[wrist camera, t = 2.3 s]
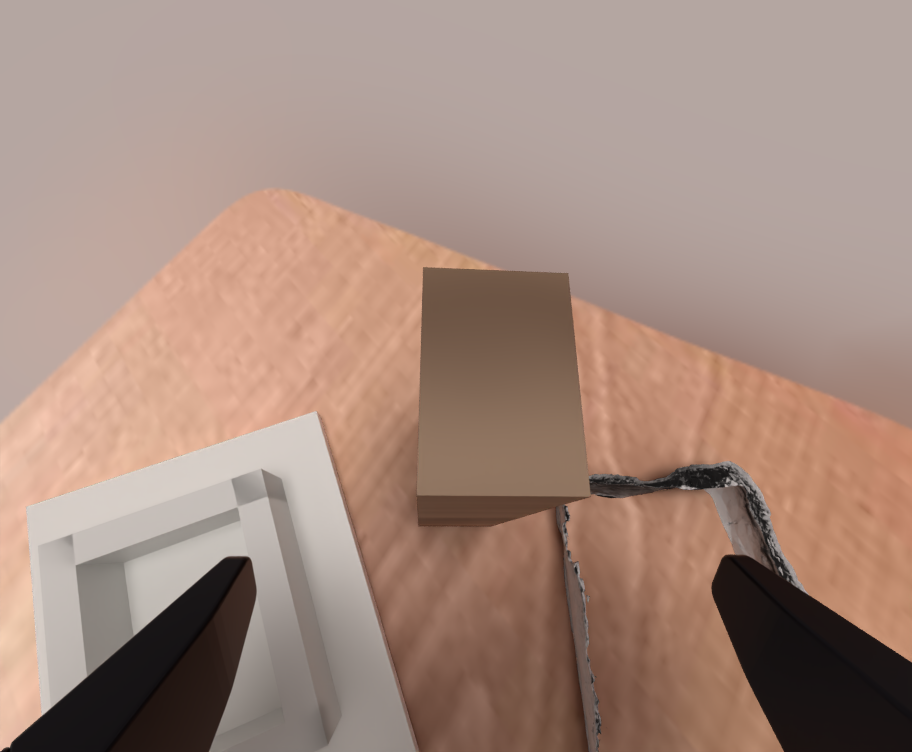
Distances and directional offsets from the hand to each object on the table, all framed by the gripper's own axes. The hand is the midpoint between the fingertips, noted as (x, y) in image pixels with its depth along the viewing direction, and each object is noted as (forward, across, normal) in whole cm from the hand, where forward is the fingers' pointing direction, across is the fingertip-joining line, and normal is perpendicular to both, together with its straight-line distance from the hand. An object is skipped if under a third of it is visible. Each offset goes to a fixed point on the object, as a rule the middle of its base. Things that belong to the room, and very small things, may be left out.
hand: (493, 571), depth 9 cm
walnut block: (+10, 0, +5) cm, 11 cm away
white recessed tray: (+6, +9, +9) cm, 14 cm away
